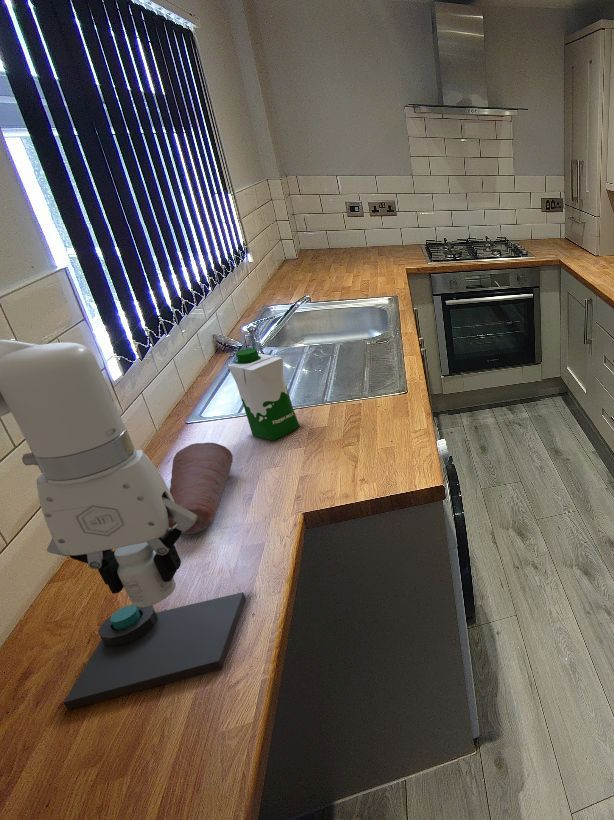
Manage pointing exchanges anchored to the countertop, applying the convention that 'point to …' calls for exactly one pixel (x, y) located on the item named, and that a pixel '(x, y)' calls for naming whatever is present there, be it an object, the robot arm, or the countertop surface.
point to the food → (200, 481)
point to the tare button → (125, 617)
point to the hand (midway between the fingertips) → (147, 578)
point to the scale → (158, 649)
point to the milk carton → (264, 394)
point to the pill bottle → (141, 575)
